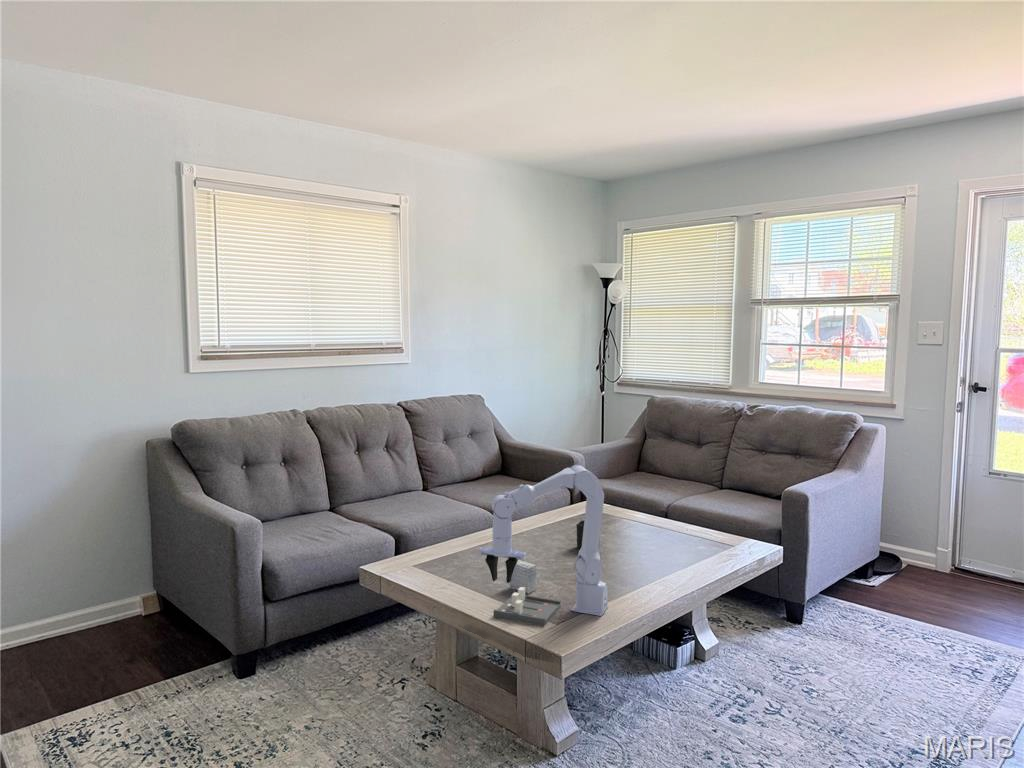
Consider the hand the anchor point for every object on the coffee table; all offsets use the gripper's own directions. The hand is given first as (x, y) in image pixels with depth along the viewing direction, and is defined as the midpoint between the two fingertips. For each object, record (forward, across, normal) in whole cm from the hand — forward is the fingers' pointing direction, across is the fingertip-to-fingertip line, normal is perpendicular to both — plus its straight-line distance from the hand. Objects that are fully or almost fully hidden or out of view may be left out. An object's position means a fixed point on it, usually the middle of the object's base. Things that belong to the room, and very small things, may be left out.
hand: (501, 580), depth 206 cm
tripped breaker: (+9, -6, 0) cm, 11 cm away
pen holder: (+11, -10, -71) cm, 73 cm away
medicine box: (+11, 0, -22) cm, 24 cm away
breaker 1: (+9, -3, -5) cm, 11 cm away
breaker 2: (+9, -3, -10) cm, 14 cm away
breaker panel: (+10, -7, -5) cm, 13 cm away
